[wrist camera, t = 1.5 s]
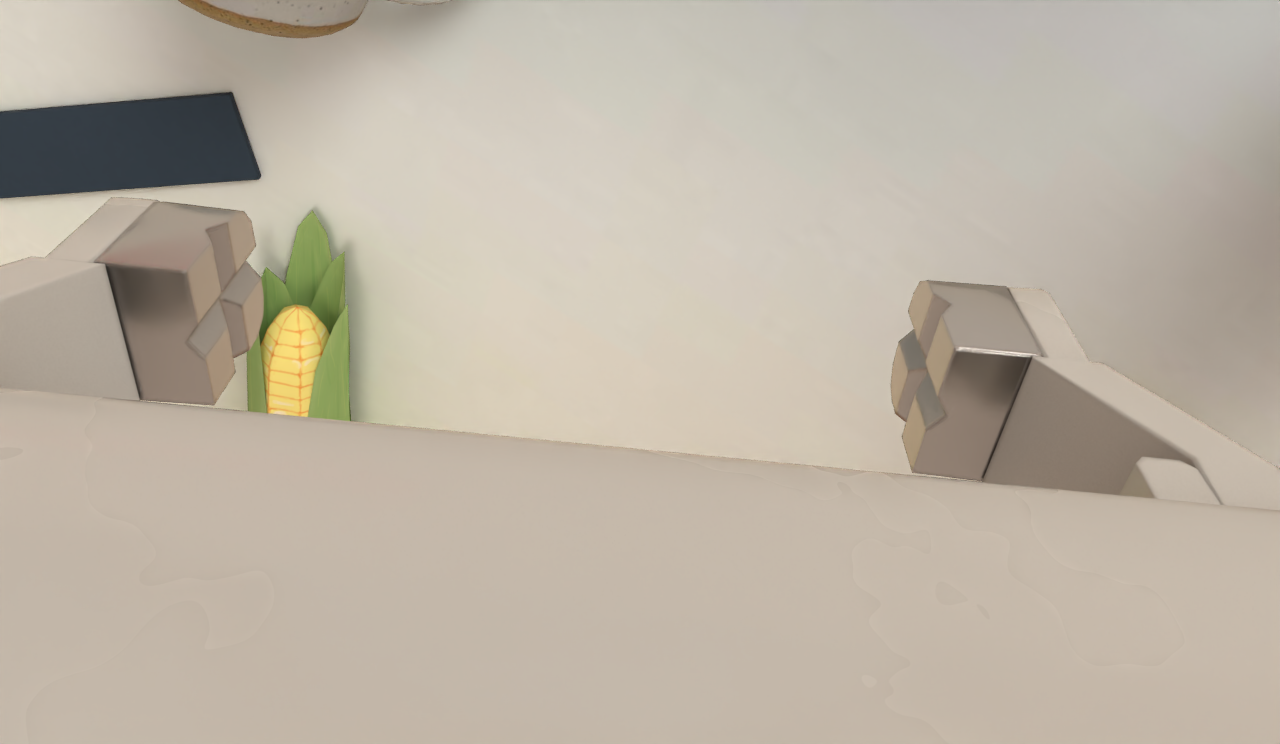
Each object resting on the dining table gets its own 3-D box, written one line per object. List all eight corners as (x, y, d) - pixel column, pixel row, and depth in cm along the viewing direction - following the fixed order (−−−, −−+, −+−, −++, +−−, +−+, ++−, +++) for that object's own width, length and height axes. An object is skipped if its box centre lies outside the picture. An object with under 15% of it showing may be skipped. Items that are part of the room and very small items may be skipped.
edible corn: (269, 532, 52) (235, 599, 48) (252, 192, 40) (206, 246, 36) (366, 549, 52) (341, 616, 48) (378, 217, 40) (345, 272, 37)
